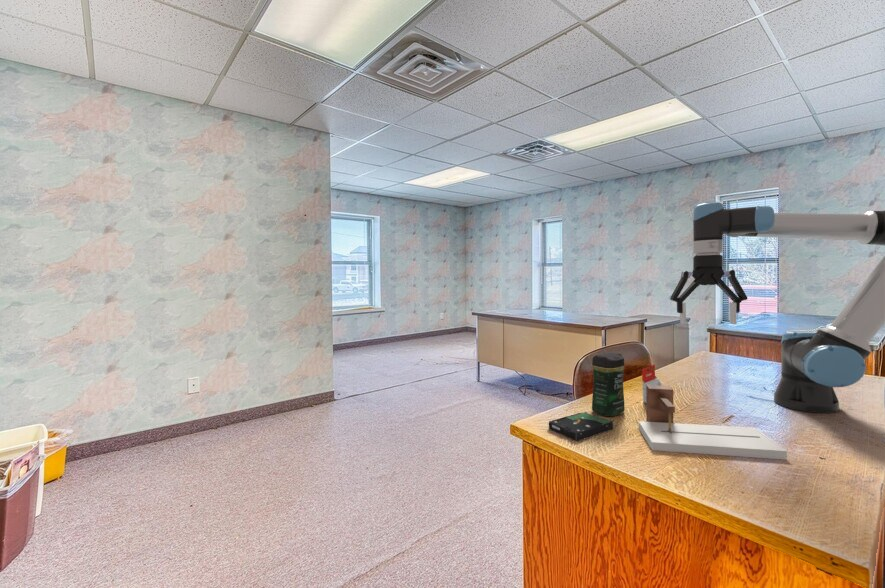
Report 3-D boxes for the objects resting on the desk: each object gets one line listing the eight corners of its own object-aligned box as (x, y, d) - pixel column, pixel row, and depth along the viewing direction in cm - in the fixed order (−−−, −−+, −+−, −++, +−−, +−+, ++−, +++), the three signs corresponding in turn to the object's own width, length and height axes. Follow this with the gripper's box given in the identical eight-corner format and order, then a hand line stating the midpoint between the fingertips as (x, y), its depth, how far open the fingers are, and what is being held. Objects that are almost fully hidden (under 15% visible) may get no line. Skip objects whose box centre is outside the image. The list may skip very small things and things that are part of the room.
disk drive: (577, 443, 104) (614, 430, 112) (577, 433, 104) (613, 420, 111) (548, 431, 113) (583, 419, 121) (547, 421, 113) (583, 410, 120)
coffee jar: (610, 419, 119) (609, 357, 118) (587, 412, 125) (587, 353, 124) (629, 412, 124) (629, 353, 123) (607, 405, 130) (606, 349, 129)
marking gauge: (668, 422, 115) (668, 385, 114) (684, 442, 102) (684, 399, 101) (645, 421, 116) (645, 384, 116) (658, 440, 103) (658, 398, 103)
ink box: (663, 398, 136) (663, 365, 135) (650, 404, 130) (650, 370, 130) (654, 396, 138) (654, 364, 138) (642, 402, 132) (641, 368, 132)
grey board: (755, 435, 105) (755, 427, 104) (786, 459, 91) (787, 450, 91) (638, 428, 111) (638, 420, 111) (651, 450, 98) (651, 441, 98)
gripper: (666, 255, 122) (666, 325, 123) (761, 252, 116) (760, 325, 117) (659, 256, 129) (659, 322, 130) (748, 253, 123) (748, 322, 124)
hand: (707, 323), depth 124 cm, fingers open, 13 cm apart
